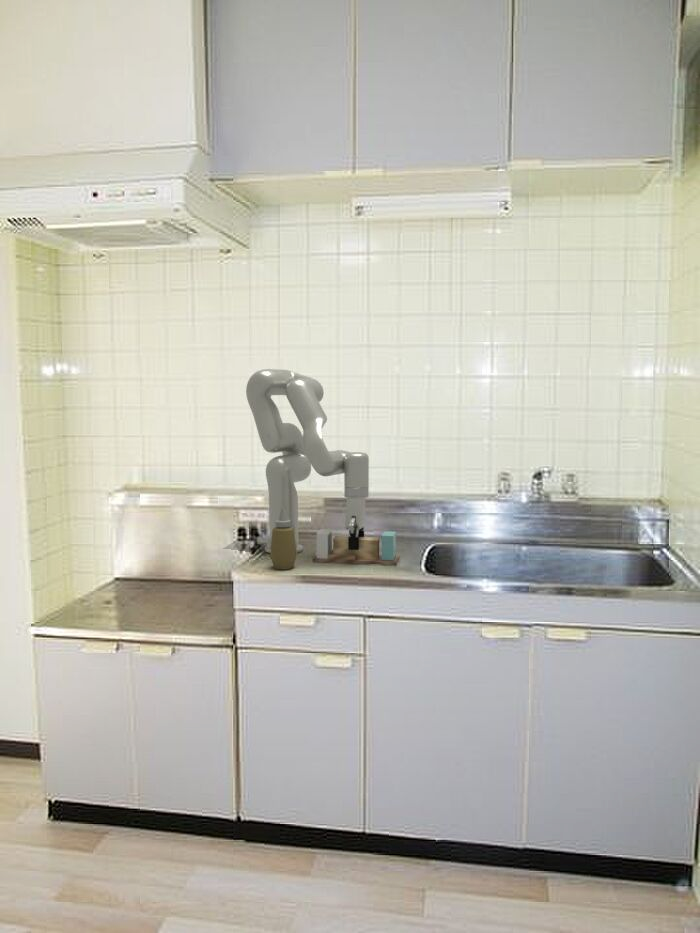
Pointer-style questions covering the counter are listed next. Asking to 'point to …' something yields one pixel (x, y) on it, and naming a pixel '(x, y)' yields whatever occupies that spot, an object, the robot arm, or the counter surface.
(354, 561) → the walnut board
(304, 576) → the counter surface
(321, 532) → the grey upright block
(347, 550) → the light wooden block
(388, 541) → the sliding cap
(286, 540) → the squeeze bottle
